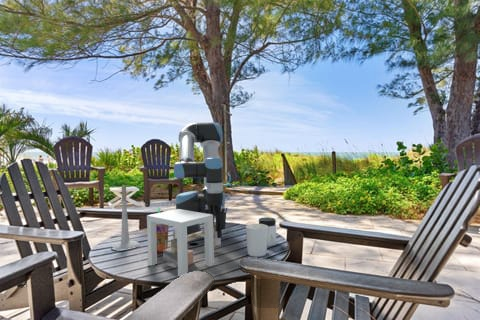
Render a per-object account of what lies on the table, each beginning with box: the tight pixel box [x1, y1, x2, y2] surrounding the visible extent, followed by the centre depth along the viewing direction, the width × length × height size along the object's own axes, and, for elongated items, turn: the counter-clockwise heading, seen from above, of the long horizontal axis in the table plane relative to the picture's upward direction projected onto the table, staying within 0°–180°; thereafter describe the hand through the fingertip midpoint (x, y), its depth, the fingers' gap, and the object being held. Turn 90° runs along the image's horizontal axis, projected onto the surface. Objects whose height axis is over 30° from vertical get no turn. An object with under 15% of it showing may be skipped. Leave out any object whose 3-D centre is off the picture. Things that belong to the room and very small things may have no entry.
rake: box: [162, 223, 222, 266], centre depth 126 cm, size 26×12×10 cm, turn 141°
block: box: [187, 248, 195, 266], centre depth 121 cm, size 5×5×5 cm
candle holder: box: [245, 223, 268, 258], centre depth 131 cm, size 10×10×12 cm
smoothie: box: [156, 207, 170, 254], centre depth 136 cm, size 8×8×20 cm
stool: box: [146, 208, 215, 277], centre depth 119 cm, size 21×16×20 cm
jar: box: [258, 216, 277, 247], centre depth 145 cm, size 9×8×12 cm
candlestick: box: [111, 184, 140, 249], centre depth 143 cm, size 13×13×30 cm
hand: (215, 244), depth 134 cm, fingers closed on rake, 2 cm apart
